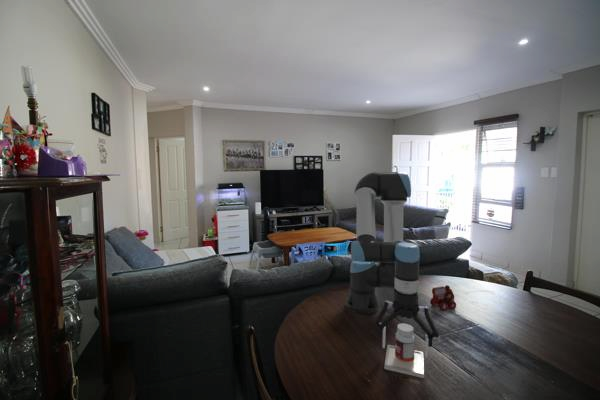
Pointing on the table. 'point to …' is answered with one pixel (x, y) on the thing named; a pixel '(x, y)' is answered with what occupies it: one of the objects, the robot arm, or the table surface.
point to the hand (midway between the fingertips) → (404, 350)
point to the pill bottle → (404, 343)
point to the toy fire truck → (443, 298)
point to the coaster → (411, 369)
